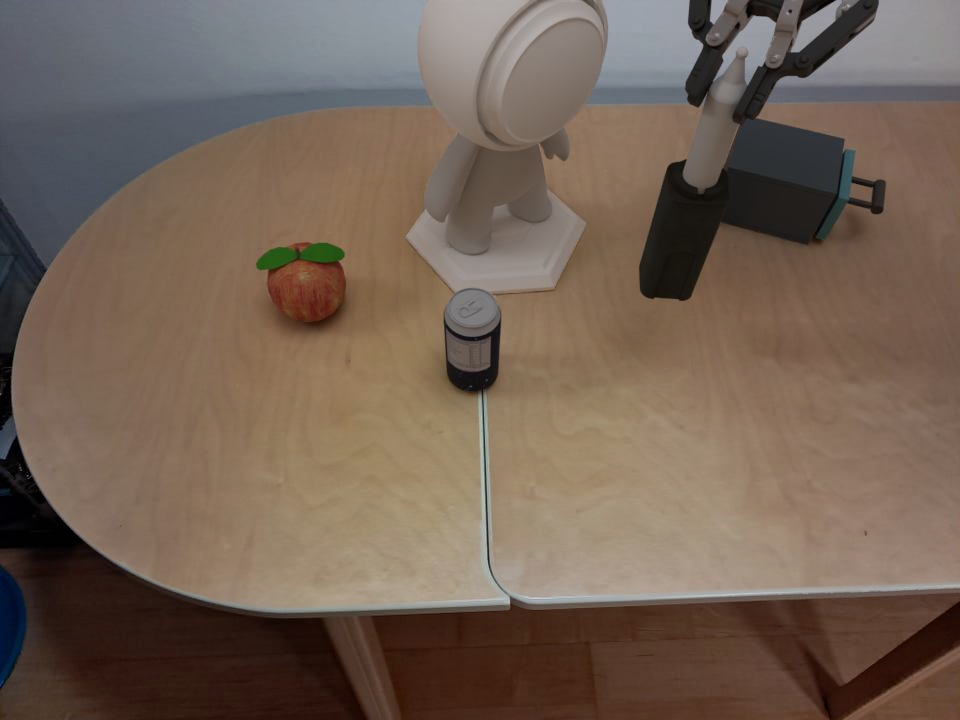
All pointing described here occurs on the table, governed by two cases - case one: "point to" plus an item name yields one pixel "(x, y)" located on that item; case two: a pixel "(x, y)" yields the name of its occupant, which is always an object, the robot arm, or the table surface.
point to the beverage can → (472, 339)
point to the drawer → (844, 192)
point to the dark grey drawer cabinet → (781, 179)
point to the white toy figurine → (504, 136)
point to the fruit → (305, 279)
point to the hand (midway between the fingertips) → (714, 111)
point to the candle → (693, 195)
